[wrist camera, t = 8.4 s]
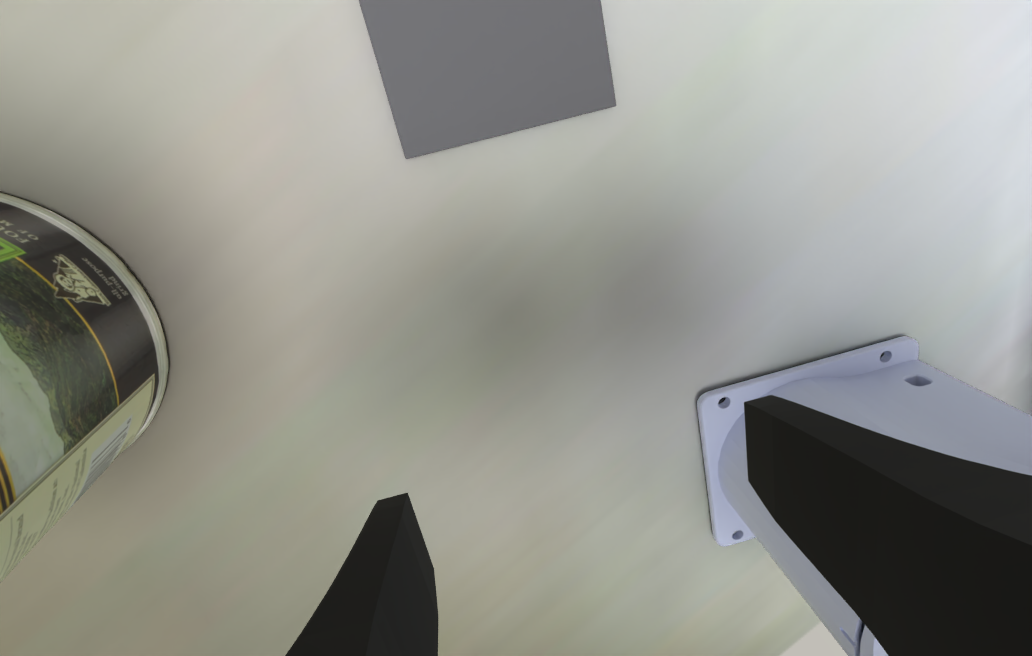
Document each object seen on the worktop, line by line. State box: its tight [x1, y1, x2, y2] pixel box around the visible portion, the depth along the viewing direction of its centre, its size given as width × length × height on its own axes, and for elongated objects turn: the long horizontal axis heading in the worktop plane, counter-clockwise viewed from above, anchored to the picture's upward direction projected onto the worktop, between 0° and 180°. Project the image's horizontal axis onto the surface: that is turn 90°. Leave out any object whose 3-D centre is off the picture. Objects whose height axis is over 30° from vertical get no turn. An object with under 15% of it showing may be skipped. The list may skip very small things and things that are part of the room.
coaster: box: [359, 0, 616, 159], centre depth 17 cm, size 7×7×1 cm
